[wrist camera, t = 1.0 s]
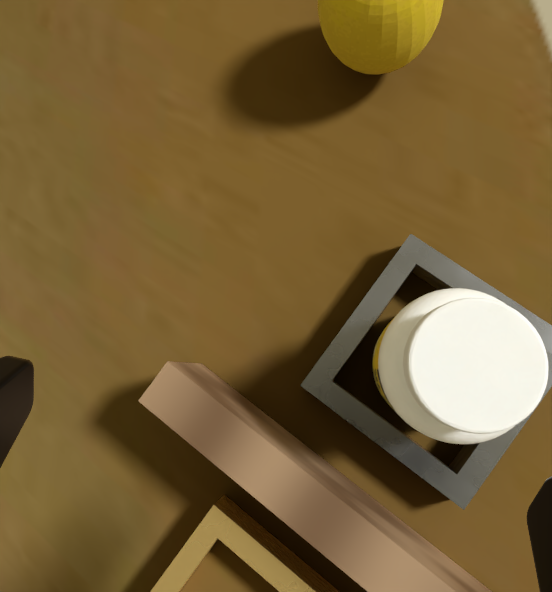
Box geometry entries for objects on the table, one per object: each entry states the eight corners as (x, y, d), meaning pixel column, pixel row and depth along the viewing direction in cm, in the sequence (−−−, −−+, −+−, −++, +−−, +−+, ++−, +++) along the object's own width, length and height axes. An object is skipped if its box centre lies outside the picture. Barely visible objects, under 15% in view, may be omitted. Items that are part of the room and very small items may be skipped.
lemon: (309, 90, 28) (292, -22, 20) (342, -4, 28) (337, -148, 20) (412, 115, 27) (436, 8, 19) (444, 18, 27) (480, -126, 19)
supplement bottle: (348, 374, 25) (345, 374, 16) (418, 286, 25) (458, 234, 16) (441, 449, 24) (498, 499, 15) (513, 358, 24) (618, 348, 15)
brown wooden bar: (518, 612, 23) (564, 678, 18) (492, 650, 23) (530, 727, 18) (201, 363, 26) (167, 361, 21) (177, 395, 26) (138, 401, 21)
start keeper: (562, 346, 24) (580, 344, 22) (454, 498, 24) (463, 509, 22) (406, 244, 26) (410, 233, 24) (303, 384, 25) (300, 385, 24)
